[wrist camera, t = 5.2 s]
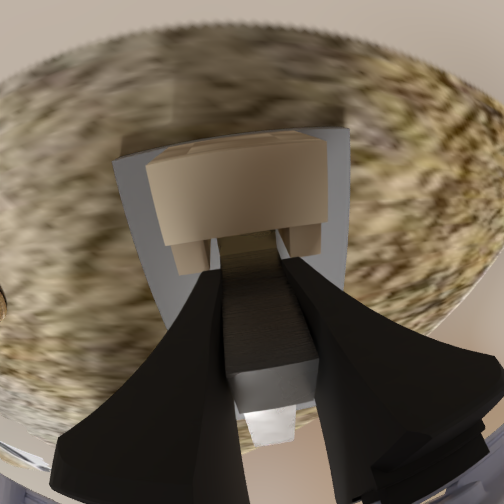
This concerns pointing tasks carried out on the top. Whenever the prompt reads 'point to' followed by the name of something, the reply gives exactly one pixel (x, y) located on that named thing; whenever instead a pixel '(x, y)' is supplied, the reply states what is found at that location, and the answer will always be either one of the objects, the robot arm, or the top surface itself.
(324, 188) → the socket block
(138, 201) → the base board
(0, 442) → the top surface
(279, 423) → the outer sleeve
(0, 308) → the sprinkles bottle
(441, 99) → the top surface
